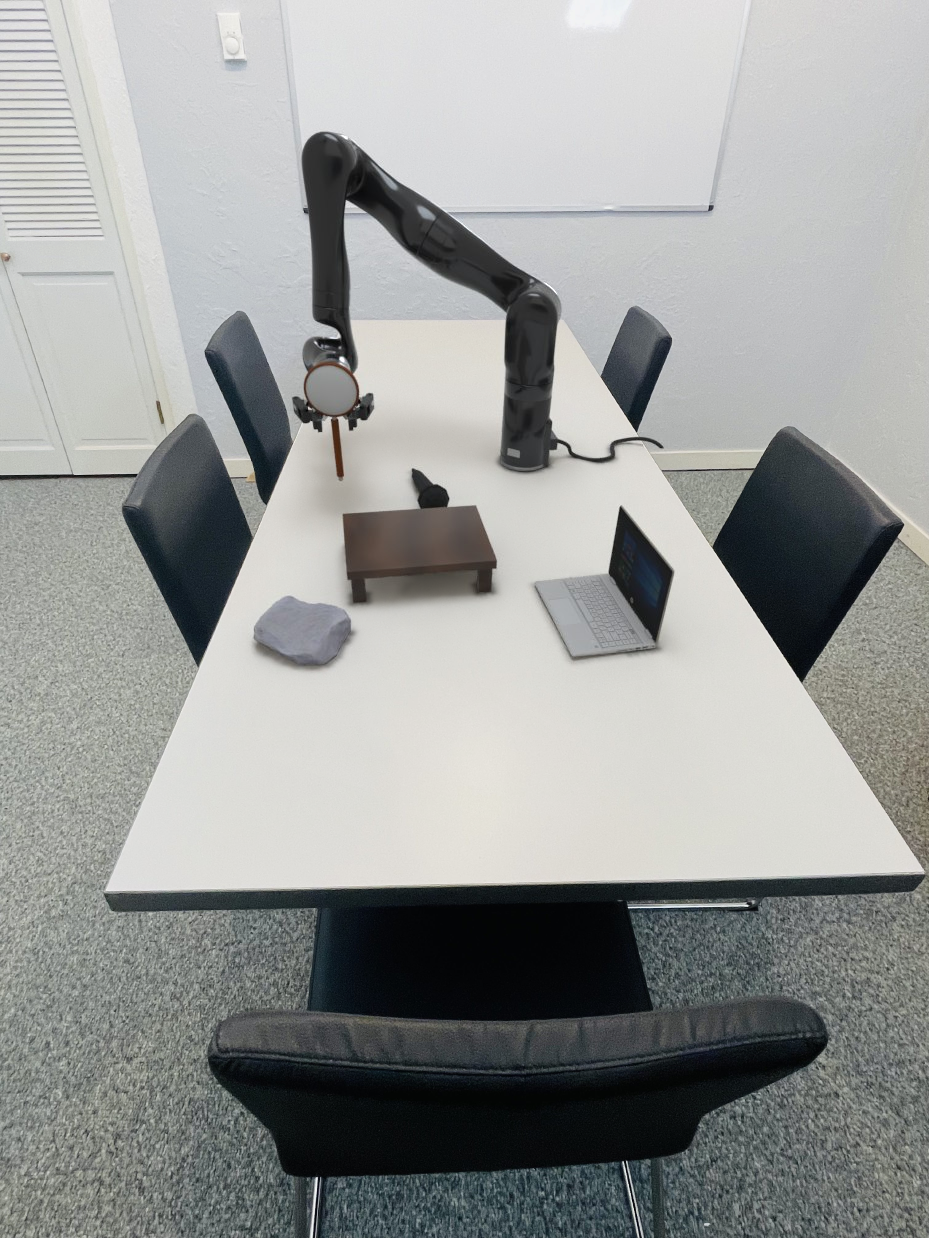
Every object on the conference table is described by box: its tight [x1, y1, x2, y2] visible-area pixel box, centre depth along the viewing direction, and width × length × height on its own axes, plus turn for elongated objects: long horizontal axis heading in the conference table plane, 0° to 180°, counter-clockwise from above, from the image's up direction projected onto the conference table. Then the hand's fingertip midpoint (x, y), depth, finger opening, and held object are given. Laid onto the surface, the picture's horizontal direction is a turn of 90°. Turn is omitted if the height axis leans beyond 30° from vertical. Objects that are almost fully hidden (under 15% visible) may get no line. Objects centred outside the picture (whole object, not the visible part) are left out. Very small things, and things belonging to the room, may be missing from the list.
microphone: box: [411, 467, 450, 509], centre depth 132 cm, size 6×6×20 cm
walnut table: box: [342, 504, 498, 604], centre depth 112 cm, size 22×17×6 cm
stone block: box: [252, 595, 352, 666], centre depth 98 cm, size 12×5×10 cm
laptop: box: [533, 505, 675, 657], centre depth 101 cm, size 18×12×13 cm
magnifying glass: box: [303, 362, 360, 482], centre depth 114 cm, size 9×2×20 cm, turn 89°
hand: (335, 425), depth 112 cm, fingers closed on magnifying glass, 4 cm apart
